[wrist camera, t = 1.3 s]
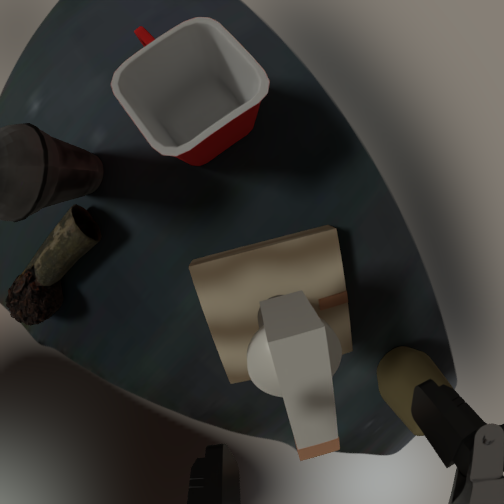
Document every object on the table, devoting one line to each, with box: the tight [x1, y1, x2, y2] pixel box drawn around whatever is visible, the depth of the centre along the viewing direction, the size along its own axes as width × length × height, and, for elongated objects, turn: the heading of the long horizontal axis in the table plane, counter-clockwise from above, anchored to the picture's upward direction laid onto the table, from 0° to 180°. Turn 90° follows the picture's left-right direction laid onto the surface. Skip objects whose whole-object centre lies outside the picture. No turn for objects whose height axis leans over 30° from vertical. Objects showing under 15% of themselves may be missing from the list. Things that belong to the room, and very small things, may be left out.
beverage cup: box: [0, 123, 104, 222], centre depth 15 cm, size 7×7×20 cm
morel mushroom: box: [6, 204, 101, 325], centre depth 24 cm, size 18×7×6 cm, turn 126°
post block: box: [189, 225, 353, 384], centre depth 24 cm, size 14×14×9 cm
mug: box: [111, 17, 270, 166], centre depth 19 cm, size 12×8×11 cm
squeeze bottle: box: [377, 346, 452, 436], centre depth 23 cm, size 8×8×18 cm
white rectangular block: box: [247, 290, 342, 461], centre depth 17 cm, size 11×7×6 cm, turn 14°
